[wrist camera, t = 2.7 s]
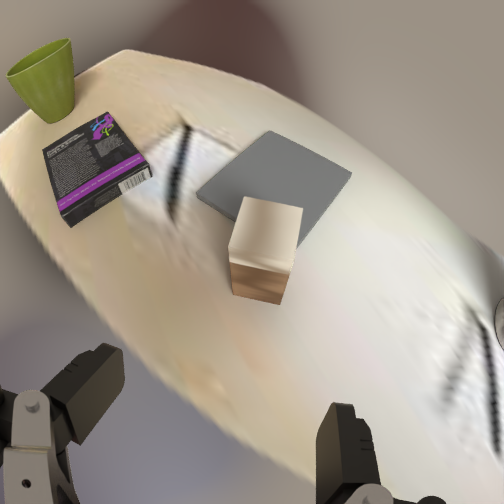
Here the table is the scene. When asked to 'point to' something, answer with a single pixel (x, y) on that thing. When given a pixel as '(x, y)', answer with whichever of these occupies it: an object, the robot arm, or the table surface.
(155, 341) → the table surface
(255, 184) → the mat
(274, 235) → the block
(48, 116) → the flower pot
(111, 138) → the box
